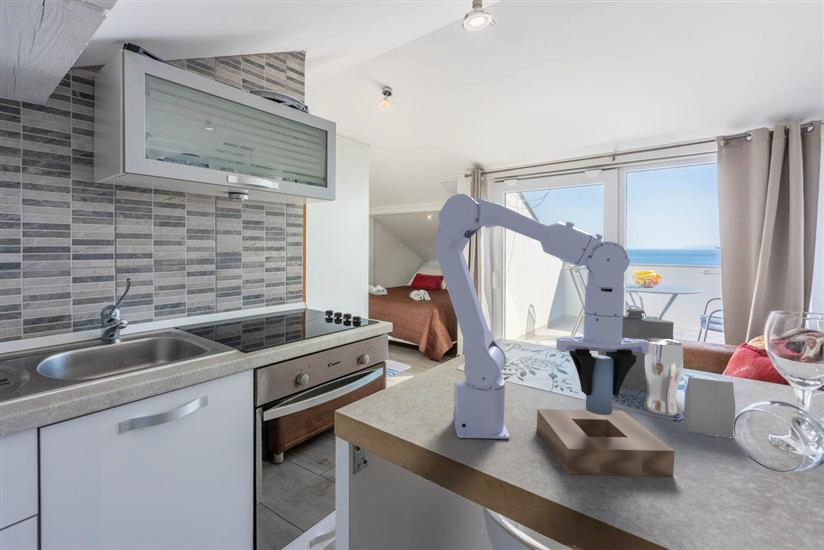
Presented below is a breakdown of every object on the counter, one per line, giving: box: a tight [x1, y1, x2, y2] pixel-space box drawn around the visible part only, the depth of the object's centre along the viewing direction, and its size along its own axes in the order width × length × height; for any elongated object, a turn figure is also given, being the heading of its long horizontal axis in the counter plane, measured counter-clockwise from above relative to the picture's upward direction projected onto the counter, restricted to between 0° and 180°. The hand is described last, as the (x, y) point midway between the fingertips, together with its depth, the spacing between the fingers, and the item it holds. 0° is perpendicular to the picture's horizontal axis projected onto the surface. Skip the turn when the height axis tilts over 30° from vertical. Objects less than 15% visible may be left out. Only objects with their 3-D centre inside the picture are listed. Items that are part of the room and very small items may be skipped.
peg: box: [585, 354, 614, 415], centre depth 62 cm, size 4×4×9 cm
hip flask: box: [597, 308, 675, 393], centre depth 93 cm, size 16×4×20 cm, turn 56°
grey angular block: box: [682, 376, 737, 438], centre depth 70 cm, size 4×7×10 cm, turn 66°
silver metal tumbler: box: [643, 338, 684, 417], centre depth 79 cm, size 7×7×15 cm
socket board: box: [536, 408, 676, 477], centre depth 62 cm, size 16×14×4 cm
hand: (599, 393), depth 62 cm, fingers closed on peg, 4 cm apart
